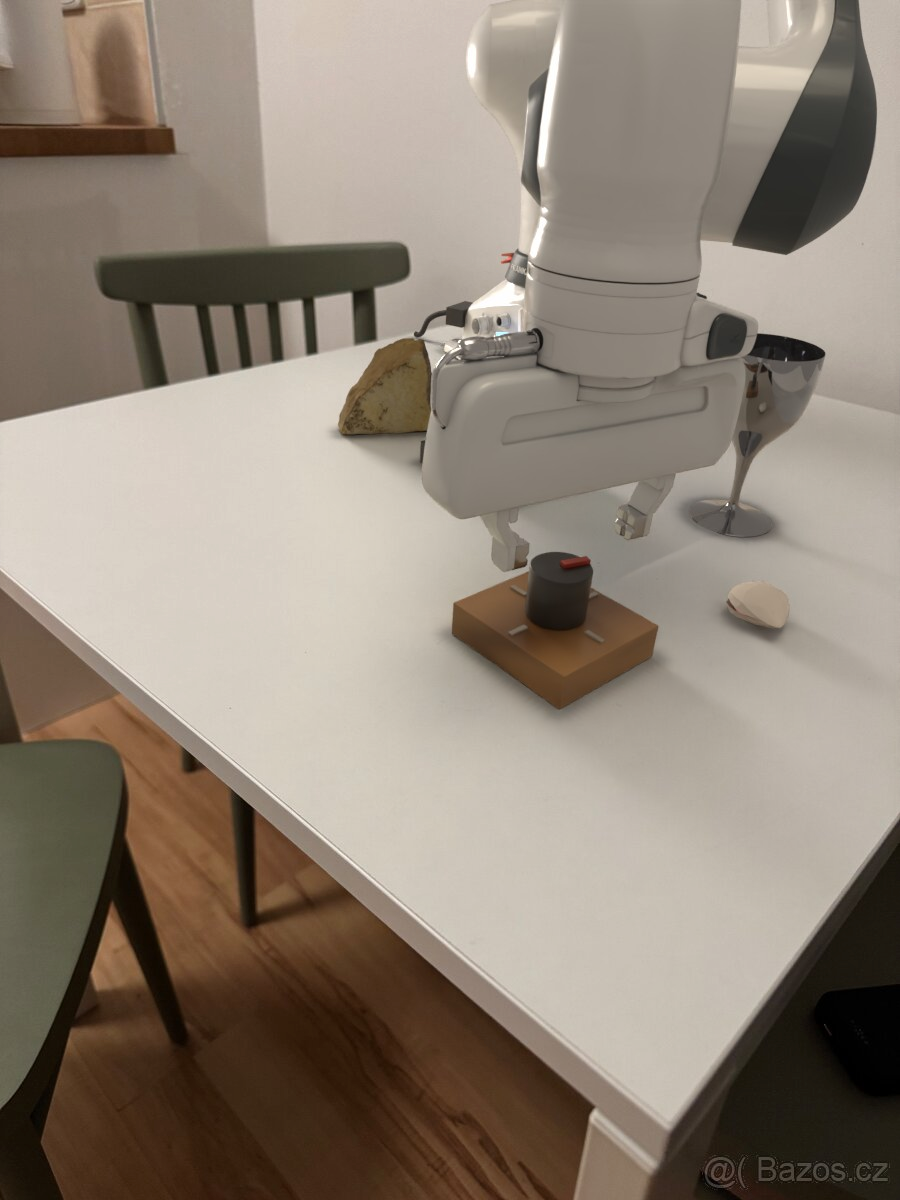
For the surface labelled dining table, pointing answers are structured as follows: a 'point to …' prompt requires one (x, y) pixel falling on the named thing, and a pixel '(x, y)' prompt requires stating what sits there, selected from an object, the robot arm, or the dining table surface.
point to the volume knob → (558, 590)
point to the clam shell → (759, 604)
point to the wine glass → (763, 423)
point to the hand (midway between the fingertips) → (572, 549)
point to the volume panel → (553, 641)
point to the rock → (391, 392)
